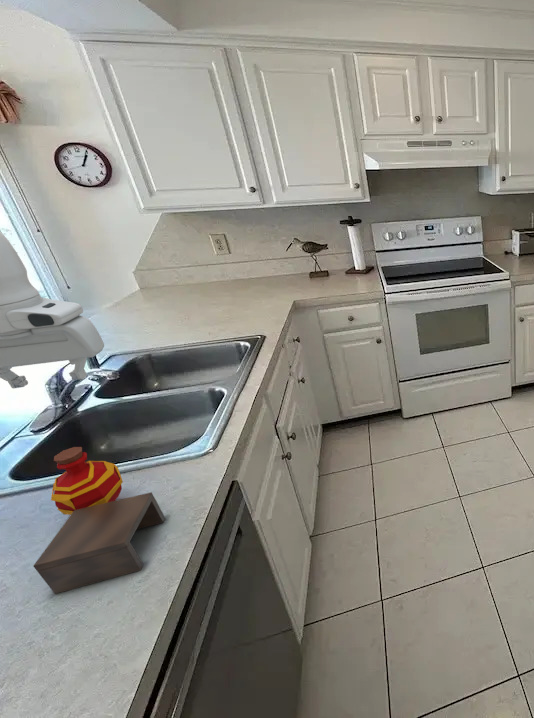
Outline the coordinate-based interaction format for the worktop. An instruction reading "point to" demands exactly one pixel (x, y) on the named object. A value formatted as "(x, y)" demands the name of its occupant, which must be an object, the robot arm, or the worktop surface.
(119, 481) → the potion bottle
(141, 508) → the shelf
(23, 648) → the worktop surface
